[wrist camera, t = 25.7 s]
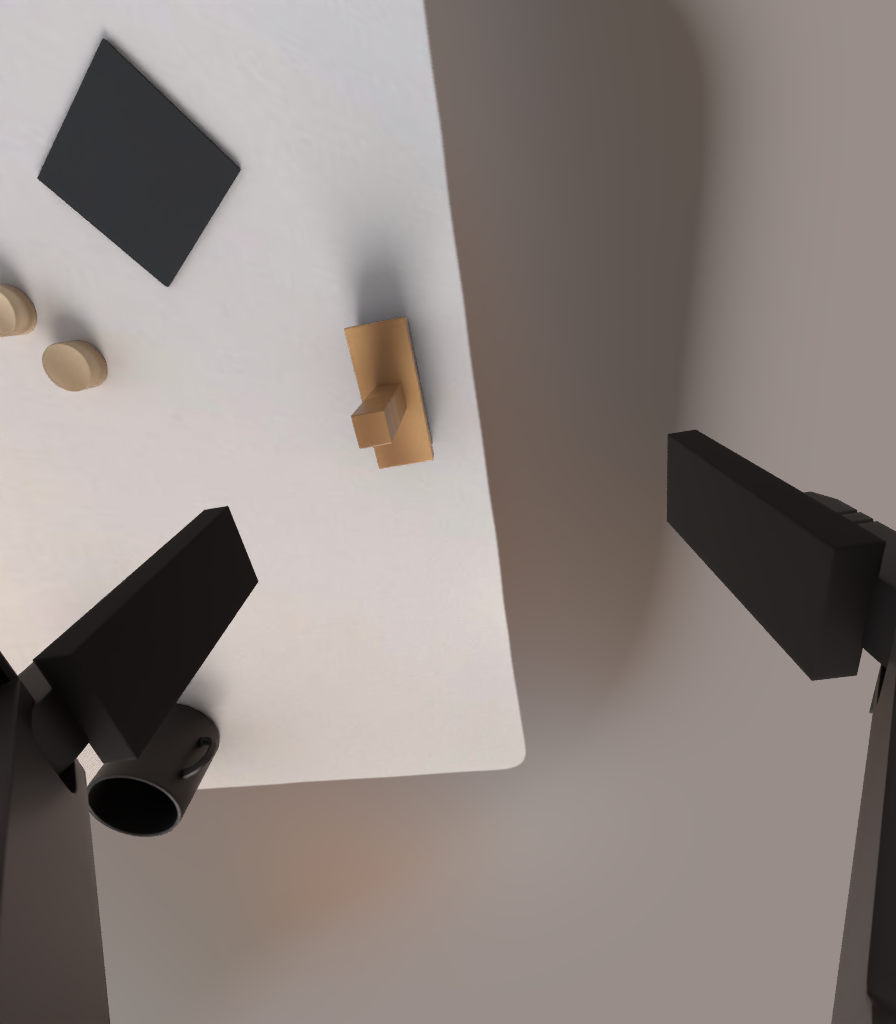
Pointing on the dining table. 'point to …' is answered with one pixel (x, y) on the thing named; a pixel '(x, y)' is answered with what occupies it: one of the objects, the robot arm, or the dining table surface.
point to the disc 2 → (74, 365)
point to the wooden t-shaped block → (389, 393)
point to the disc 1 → (15, 312)
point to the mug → (156, 777)
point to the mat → (136, 166)
